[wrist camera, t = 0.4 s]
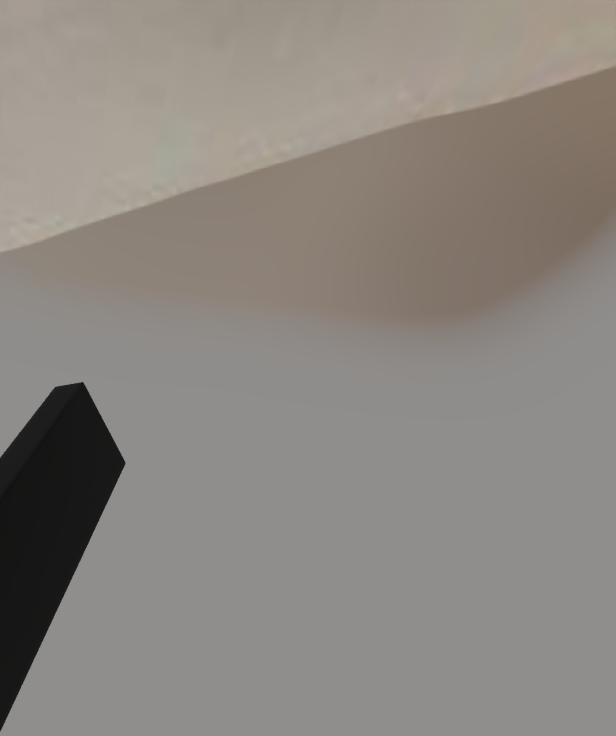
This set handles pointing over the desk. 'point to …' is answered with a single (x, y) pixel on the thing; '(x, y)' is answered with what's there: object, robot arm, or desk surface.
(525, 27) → the desk surface
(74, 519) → the robot arm
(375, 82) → the desk surface
